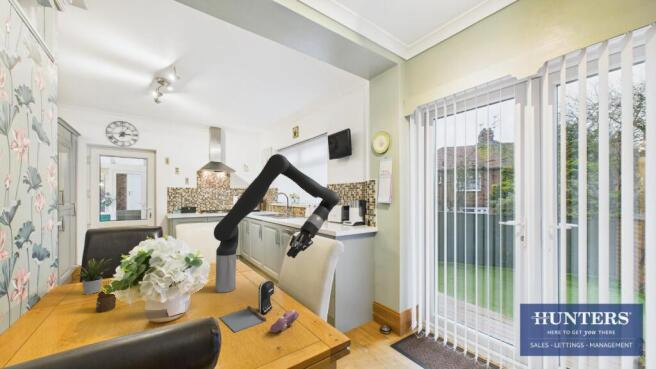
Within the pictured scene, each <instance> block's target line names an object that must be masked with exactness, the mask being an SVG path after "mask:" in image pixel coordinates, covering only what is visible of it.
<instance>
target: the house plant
mask: <svg viewBox="0 0 656 369" xmlns="http://www.w3.org/2000/svg"><path fill="white" fill-rule="evenodd" d="M89 259H90V260H88V271H87V270H86V268H84V267H83V266H82V265H80V264H77V263H75V265H77V266H78V267H80V268H81V269H82V270H83V271H84V272H83V271H81V270H79V271H78V272H79V273H80V274H76V276H78V277H81V278H83V279H82V281H81V282H82V288H83V294H91V295H94V294H93V293H96V292H98V291H99V292H101V291H100V290H101V286H102V281H103V277H102V276H101V275H103V273H105V272H106V271H108V270H109V269H110V267H109V268H107V269H104V267H105V266H107V264H111V263H112V262H109V261H111V260H112V258H111V259H107V260H106V261H104V260H105V259H106V258H103V259H100V261H99V262H98V261H96V260H95V258H92V259H91V258H89ZM101 267H102V268H101ZM99 292H98V293H99ZM96 294H97V293H96Z"/></svg>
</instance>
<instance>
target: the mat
mask: <svg viewBox="0 0 656 369" xmlns="http://www.w3.org/2000/svg"><path fill="white" fill-rule="evenodd" d="M219 319H220V320H221V321H222V322H223V323H224V324H225V325H226V326H227V327H228V328H229V329H230V330H232V332H234V333H238V332H240V331H243V330H245V329H249V328H252V327H253V326H256V325H259V324H263V323H264V321H262V320H261V319H260V318H258V317H257V316H256V315H254V314H253V313H252V312H250V311H249V310H247V308H244V309H241V310H238V311H235V312H232V313H229V314H224V315H221V316H220V317H219Z"/></svg>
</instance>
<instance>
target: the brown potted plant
mask: <svg viewBox="0 0 656 369" xmlns="http://www.w3.org/2000/svg"><path fill="white" fill-rule="evenodd" d="M109 282H110V283H111V284H112V283H113V282H112V280H110V279H108V280H106V281H103V286H102V287H103V288H104V287H105V286H106V285H107V286H108V284H110V283H109ZM103 291H104V290H101V291H99V292H98V293H97V298H96V302H95V303H96V304H95V310H96V311H95V312H97V313H105V312H109V311H112V310H114V309H115V308H116V304H117V303H116V302H117V296H116V297H115V295H116V294H115V295H114V294H105V293H104V292H103Z"/></svg>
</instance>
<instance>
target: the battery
mask: <svg viewBox="0 0 656 369" xmlns="http://www.w3.org/2000/svg"><path fill="white" fill-rule="evenodd" d="M274 294H275V283H274V281H272V280H265V281H263V282H261V283H260V284H259V286H258V311H257V312H259V313H260V314H262V315H266V314H268V313H269V312H270V311H272V309H273V306H272V303H271V296H273V295H274Z"/></svg>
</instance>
